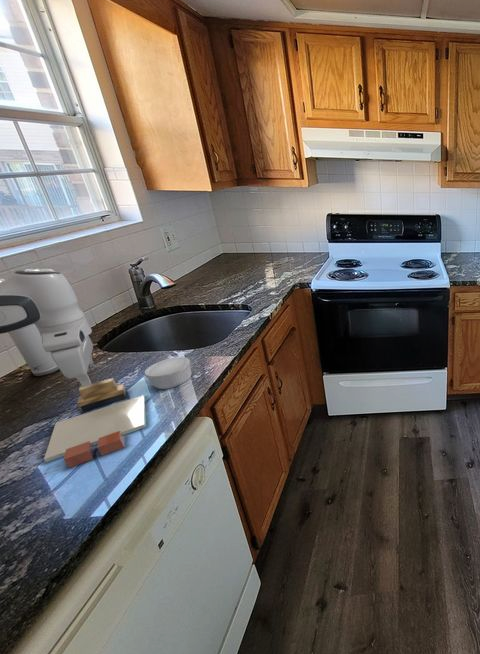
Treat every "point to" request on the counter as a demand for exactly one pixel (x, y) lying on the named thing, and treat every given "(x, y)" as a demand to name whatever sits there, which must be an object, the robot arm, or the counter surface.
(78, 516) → the counter surface
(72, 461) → the reddish brown block
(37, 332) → the travel mug
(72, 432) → the tile
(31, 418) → the counter surface
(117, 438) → the terracotta brick
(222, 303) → the counter surface
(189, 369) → the ramekin
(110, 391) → the brush
